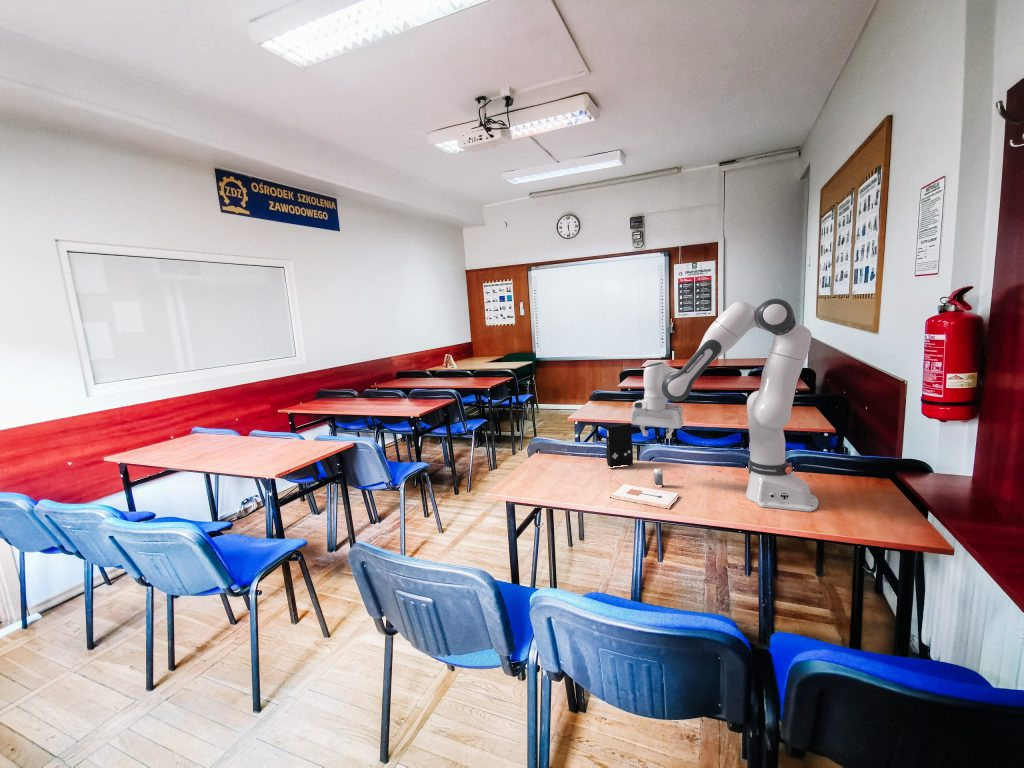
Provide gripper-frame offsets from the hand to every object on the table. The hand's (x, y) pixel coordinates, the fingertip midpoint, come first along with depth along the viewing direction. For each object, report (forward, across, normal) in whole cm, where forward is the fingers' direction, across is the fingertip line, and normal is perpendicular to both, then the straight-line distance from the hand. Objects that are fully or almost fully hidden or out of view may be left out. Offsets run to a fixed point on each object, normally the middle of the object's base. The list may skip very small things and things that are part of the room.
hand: (656, 437), depth 178 cm
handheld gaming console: (+21, +24, -16) cm, 36 cm away
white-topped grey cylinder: (+21, 0, 0) cm, 21 cm away
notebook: (+21, +1, +13) cm, 25 cm away
